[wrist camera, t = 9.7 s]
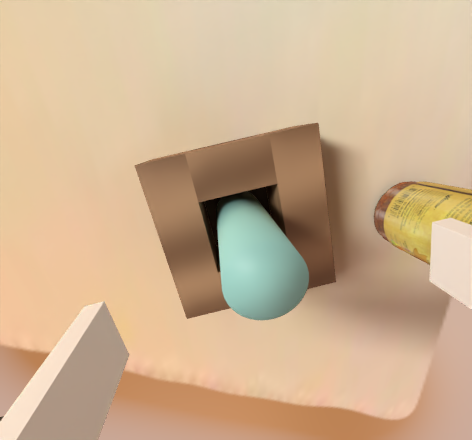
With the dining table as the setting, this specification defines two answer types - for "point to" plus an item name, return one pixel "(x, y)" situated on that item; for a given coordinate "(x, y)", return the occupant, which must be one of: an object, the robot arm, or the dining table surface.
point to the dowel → (257, 260)
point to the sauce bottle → (419, 214)
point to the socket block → (231, 182)
